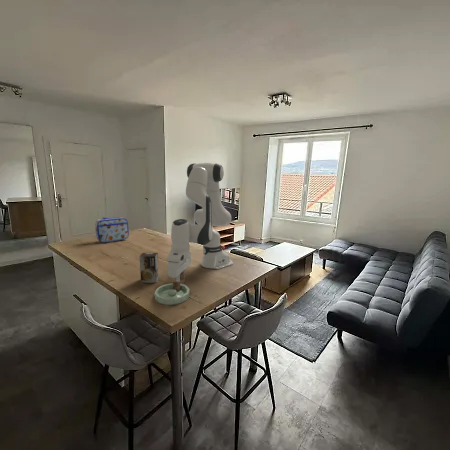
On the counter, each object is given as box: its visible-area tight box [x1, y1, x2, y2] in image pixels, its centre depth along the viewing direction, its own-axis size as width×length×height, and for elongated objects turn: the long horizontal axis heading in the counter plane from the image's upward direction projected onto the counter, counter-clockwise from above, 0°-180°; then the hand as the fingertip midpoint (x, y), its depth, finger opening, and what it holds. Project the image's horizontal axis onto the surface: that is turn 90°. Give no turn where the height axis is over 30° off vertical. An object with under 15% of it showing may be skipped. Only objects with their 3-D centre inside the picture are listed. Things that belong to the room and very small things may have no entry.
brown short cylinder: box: [177, 271, 186, 285], centre depth 121 cm, size 4×4×5 cm
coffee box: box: [139, 252, 160, 284], centre depth 140 cm, size 9×6×16 cm
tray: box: [154, 282, 191, 306], centre depth 124 cm, size 17×17×3 cm
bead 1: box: [172, 279, 180, 292], centre depth 128 cm, size 4×4×5 cm
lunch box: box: [94, 216, 130, 244], centre depth 216 cm, size 28×10×22 cm, turn 130°
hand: (180, 279), depth 121 cm, fingers closed on brown short cylinder, 4 cm apart
